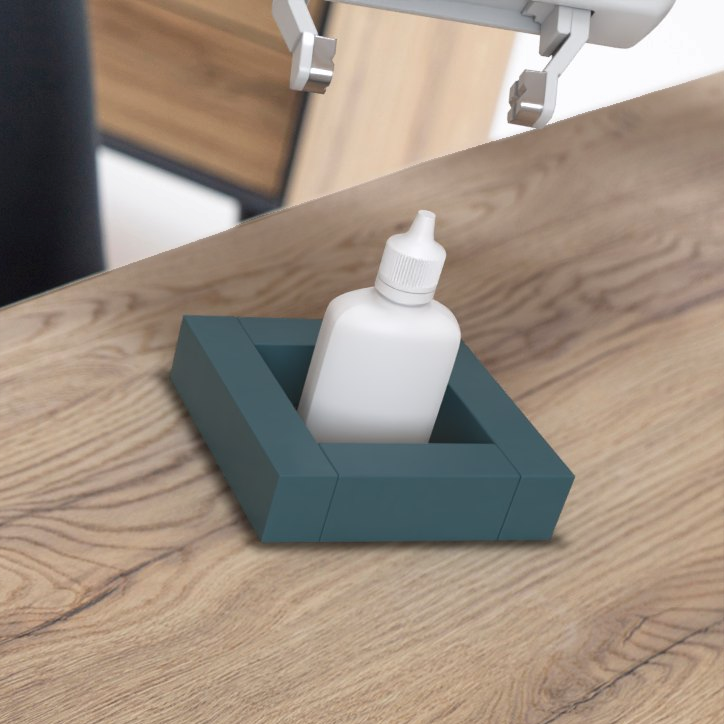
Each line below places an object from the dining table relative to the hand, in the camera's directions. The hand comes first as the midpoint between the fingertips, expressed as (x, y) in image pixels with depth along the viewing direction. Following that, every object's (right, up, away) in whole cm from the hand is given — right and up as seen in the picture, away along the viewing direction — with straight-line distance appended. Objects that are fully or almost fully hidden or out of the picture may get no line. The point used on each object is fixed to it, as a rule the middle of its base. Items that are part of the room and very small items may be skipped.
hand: (420, 104), depth 72 cm
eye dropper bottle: (-2, -15, +4) cm, 16 cm away
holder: (-2, -15, +3) cm, 16 cm away
